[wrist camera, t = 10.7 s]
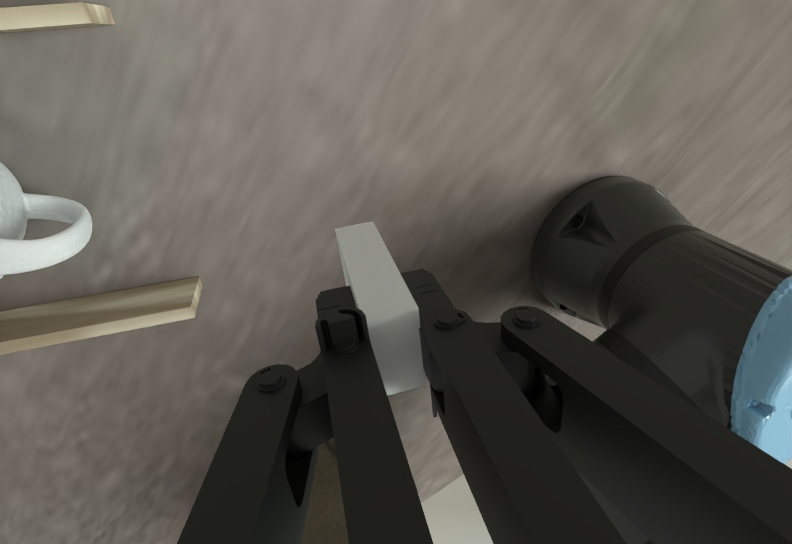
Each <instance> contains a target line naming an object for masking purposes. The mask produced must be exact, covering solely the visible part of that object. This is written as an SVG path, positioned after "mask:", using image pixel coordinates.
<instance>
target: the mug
mask: <svg viewBox="0 0 792 544" xmlns="http://www.w3.org/2000/svg"><path fill="white" fill-rule="evenodd" d="M28 219H48V220H54V221H61V222H67V223H71V224H73V225H72V226H70V227H69V228H67V229H66V230H64V231H62V232H60V233H58V234H55V235H52V236H50V237H46V238H42V239H34V240H23V238H24V236H25V232H26V227H27V220H28ZM91 234H92V219H91V216H90V213H89V211H88V210H87V209H86V208H85V206H83V205H82V204H81V203H78V202H76V201H74V200H70V199H66V198H61V197H56V196H48V195H39V194H27V193H23V191H22V189H21V187H20V184H19V183H18V181H17V179H16V178H15V177H14V175H13V174H12V173H11V172H10V171H9V170H8V168H7V167H6V166H5V165H4V164H2V163H1V162H0V279H1V278H3V275H5V274H17V273H23V272H28V271H33V270H38V269H41V268H45V267H49V266H52V265H55V264H57V263H60V262H62V261H64V260H66V259H68V258H70V257H72V256H74V255H75V254H77V253H78V252H80V251H81V250H82V249H83V248H84V247H85V246H86V245H87V243H88V241H89V239H90V237H91Z"/></svg>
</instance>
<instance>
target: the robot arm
mask: <svg viewBox="0 0 792 544" xmlns="http://www.w3.org/2000/svg"><path fill="white" fill-rule="evenodd" d="M335 231H336V236H337V241H338V247H339V252H340V257H341V262H342V267H343V273H344V278H345V283H346V286H345V287H341V288H336V289H331V290H326V291H322V292H320V294H319V296H318V298H317V299H316V307H317V313H318V320H317V321H316V325H315V328H316V332H317V336H318V340H319V344H320V348H321V352H320V354H319V356H318V357H317V358H316V359H315V360H314V361H313V362H312V363H311V364H309V365H307V366H305V367H304V368H302V369H299V370H297V371H296V370H295V369H294V368H293V367H290V366H288V365H279V364H277V365H273V366H268V367H266V368H263V369H261V370H259V371H257V372H256V373H255V374H254V375H252V376H251V377H250V378H249V380H248V381H247V383H246V384H245V386H244V388H243V391H242V393H241V395H240V398H239V400H238V402H237V405H236V407H235V409H234V412H233V414H232V416H231V419H230V421H229V423H228V426H227V428H226V430H225V433H224V435H223V437H222V440H221V442H220V444H219V447H218V449H217V451H216V454H215V456H214V458H213V461H212V463H211V465H210V468H209V470H208V472H207V475H206V477H205V479H204V482H203V484H202V486H201V489H200V491H199V493H198V496H197V498H196V500H195V503H194V505H193V507H192V510H191V512H190V514H189V517H188V519H187V521H186V524H185V526H184V528H183V531H182V533H181V535H180V538H179V540H178V542H177V544H301V543H302V537H303V532H304V527H305V521H306V516H307V511H308V506H309V500H310V495H311V490H312V484H313V479H314V474H315V468H316V463H317V458H318V446H320V445H322V444H323V443H325V442H327V441H329V440H330V439H332V438H334V443H335V450H336V457H337V464H338V471H339V478H340V485H341V492H342V499H343V506H344V513H345V520H346V527H347V534H348V541H349V544H433V542H432V538H431V535H430V532H429V528H428V525H427V522H426V519H425V516H424V512H423V509H422V506H421V503H420V499H419V496H418V493H417V490H416V487H415V483H414V480H413V477H412V474H411V471H410V467H409V464H408V461H407V458H406V454H405V451H404V448H403V445H402V442H401V438H400V435H399V432H398V429H397V426H396V422H395V419H394V416H393V413H392V409H391V406H390V403H389V400H388V397H387V396H388V395H392V394H396V393H400V392H404V391H408V390H412V389H416V388H420V387H423V386H427V384H426V375H427V378H428V380H429V382H430V388H431V398H432V408H433V416H434V417H437V412H438V414H439V416H440V419H441V421H442V423H443V426H444V428H445V431H446V433H447V435H448V438H449V440H450V442H451V445H452V447H453V449H454V452H455V454H456V456H457V459H458V461H459V463H460V466H461V468H462V471H463V473H464V475H465V478H466V480H467V482H468V485H469V487H470V489H471V492H472V494H473V496H474V499H475V501H476V503H477V506H478V508H479V511H480V513H481V515H482V518H483V520H484V522H485V524H486V527H487V529H488V532H489V534H490V536H491V539H492V541H493V543H494V544H792V469H791V468H789V467H788V466H786V465H785V464H784V463H787V462H788V461H789V460H790V459H791V458H792V270H790V269H787V268H785V267H783V266H781V265H779V264H776V263H774V262H772V261H770V260H767V259H765V258H763V257H761V256H758V255H756V254H754V253H752V252H749V251H747V250H745V249H743V248H740V247H738V246H736V245H734V244H731V243H729V242H727V241H725V240H722V239H720V238H718V237H716V236H713V235H711V234H709V233H707V232H704V231H702V230H700V229H698V228H696V227H694V226H692V224H691V223H690V222H689V221H688V220H687V219H686V218H685V217H684V216H683V215H682V214H681V213H680V212H679V211H678V210H677V209H676V208H675V207H674V206H673V205H672V204H671V202H670V201H669V200H668V199H667V197H666V196H665V195H664V194H663V193H662V192H661V191H659V190H658V189H656V188H655V187H653V186H651V185H649V184H646V183H644V182H641V181H639V180H636V179H633V178H630V177H624V176H612V177H606V178H601V179H598V180H595V181H592V182H590V183H588V184H586V185H584V186H582V187H580V188H579V189H577V190H576V191H574V192H573V193H571V194H570V195H569V196H567V197H566V198H565V199H564V200H563V201H562V202H561V203H560V204H559V205H558V206H557V207H556V208H555V209H554V210H553V211H552V213H551V214H550V215H549V217H548V218H547V220H546V221H545V223H544V224H543V226H542V228H541V230H540V232H539V234H538V236H537V239H536V242H535V245H534V249H533V254H532V274H533V278H534V282H535V284H536V286H537V288H538V290H539V291H540V292H541V294H542V295H543V296H544V297H545V298H546V299H547V300H548V301H549V302H550V303H551V304H553V305H554V306H555V307H556V308H557V309H559V310H560V311H562V312H564V313H566V314H568V315H571V316H574V317H576V318H579V319H581V320H584V321H586V322H589V323H592V324H594V325H597V326H600V327H602V328H605V329H606V331H605V332H604V333H603V334H602V335H600V336H599V337H598V338H597V339H595V340H594V341H590V340H589V339H587V338H586V337H584V336H582V335H581V334H579V333H578V332H576V331H575V330H573V329H571V328H570V327H568V326H567V325H565V324H564V323H562V322H561V321H559V320H557V319H556V318H554V317H553V316H551V315H550V314H548V313H546V312H545V311H543V310H540V309H538V308H535V307H529V306H518V307H514V308H510V309H508V310H507V311H505V312H504V313H503V315H502V316H501V322H500V323H480V322H474V321H473V320H472V319H471V317H470V316H469V315H468V314H466V313H465V312H463V311H460V310H457V309H455V308H454V306H453V305H452V303H451V302H450V300H449V299H448V297H447V296H446V294H445V293H444V291H443V290H442V288H441V287H440V285H439V284H438V282H437V280H436V279H435V277H434V276H433V274H431V273H429V272H427V271H425V270H423V269H420V270H415V271H410V272H406V273H401V274H400V272H399V270H398V268H397V266H396V264H395V262H394V261H393V259H392V257H391V255H390V253H389V251H388V249H387V247H386V245H385V243H384V241H383V240H382V238H381V236H380V234H379V232H378V230H377V228H376V226H375V224H374V222H373V221H372V222H366V223H361V224H356V225H351V226H346V227H341V228H336V229H335ZM425 373H426V375H425Z"/></svg>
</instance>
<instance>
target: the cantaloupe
mask: <svg viewBox="0 0 792 544" xmlns="http://www.w3.org/2000/svg"><path fill="white" fill-rule="evenodd" d="M413 480H414V479H413ZM414 483H415V482H414ZM415 487H416V485H415ZM416 490H417V488H416ZM417 493H418V492H417ZM301 544H349V541H348V534H347V527H346V520H345V513H344V506H343V499H342V492H341V485H340V478H339V471H338V464H337V457H336V450H335V443H334V438H332V439H330V440H329V441H327V442H325V443H323V444H322V445H320V446H318V458H317V463H316V468H315V474H314V479H313V484H312V490H311V495H310V500H309V506H308V511H307V516H306V521H305V527H304V532H303V537H302V543H301Z"/></svg>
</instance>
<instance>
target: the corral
mask: <svg viewBox="0 0 792 544" xmlns="http://www.w3.org/2000/svg"><path fill="white" fill-rule="evenodd" d="M103 25H115V23H114V20H113V17H112V14H111V11H110V8H109V7H107V6H101V5H95V4H88V3H82V2H78V3H64V4H50V5H36V6H21V7H7V8H0V34H2V33H15V32H28V31H40V30H53V29H65V28H78V27H91V26H103ZM202 287H203V286H202V283H201V280H200V277H194V278H188V279H182V280H176V281H171V282H165V283H159V284H154V285H148V286H142V287H137V288H131V289H125V290H119V291H114V292H108V293H102V294H97V295H91V296H85V297H80V298H74V299H68V300H62V301H57V302H51V303H45V304H40V305H34V306H28V307H23V308H17V309H11V310H5V311H0V355H2V354H7V353H12V352H17V351H23V350H28V349H33V348H38V347H44V346H49V345H54V344H59V343H65V342H70V341H75V340H80V339H86V338H91V337H96V336H101V335H107V334H112V333H117V332H122V331H128V330H133V329H138V328H143V327H149V326H154V325H159V324H164V323H170V322H175V321H180V320H185V319H191V318H194V317H195V314H196V310H197V306H198V302H199V299H200V295H201V291H202Z"/></svg>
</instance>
